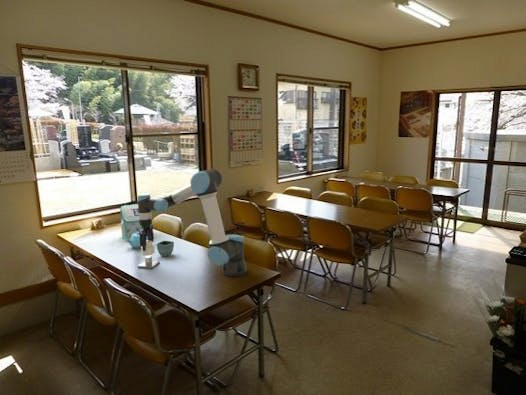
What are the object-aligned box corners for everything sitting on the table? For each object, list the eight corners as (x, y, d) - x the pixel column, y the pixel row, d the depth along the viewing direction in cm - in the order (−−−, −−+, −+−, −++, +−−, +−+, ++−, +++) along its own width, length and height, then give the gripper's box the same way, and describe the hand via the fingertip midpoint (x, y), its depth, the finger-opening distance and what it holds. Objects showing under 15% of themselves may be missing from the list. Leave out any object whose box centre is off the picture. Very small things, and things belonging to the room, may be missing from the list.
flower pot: (164, 252, 272) (163, 240, 270) (175, 253, 269) (174, 241, 267) (156, 256, 264) (156, 244, 262) (167, 258, 261) (167, 245, 259)
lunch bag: (124, 241, 297) (121, 207, 291) (120, 236, 310) (117, 203, 305) (154, 237, 308) (152, 204, 302) (149, 232, 322) (147, 200, 316)
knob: (154, 252, 249) (153, 240, 247) (150, 255, 243) (149, 243, 241) (146, 251, 250) (145, 239, 248) (141, 255, 244) (140, 242, 242)
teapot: (135, 243, 293) (133, 228, 291) (152, 243, 291) (151, 229, 289) (125, 250, 278) (124, 235, 276) (143, 250, 276) (142, 235, 274)
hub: (159, 263, 252) (159, 254, 250) (152, 269, 242) (151, 260, 241) (145, 262, 254) (145, 253, 253) (137, 267, 244) (137, 258, 243)
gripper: (147, 214, 251) (149, 248, 256) (131, 222, 233) (134, 258, 238) (158, 214, 250) (160, 248, 255) (143, 222, 232) (145, 259, 237)
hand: (147, 253), depth 246 cm, fingers closed on knob, 6 cm apart
